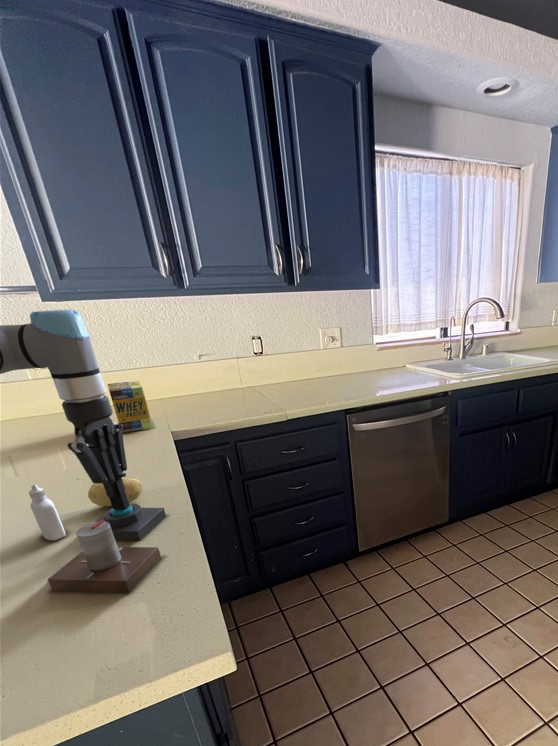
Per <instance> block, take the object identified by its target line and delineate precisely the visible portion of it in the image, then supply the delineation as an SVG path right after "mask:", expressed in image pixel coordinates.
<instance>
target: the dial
mask: <svg viewBox="0 0 558 746" xmlns="http://www.w3.org/2000/svg"><path fill="white" fill-rule="evenodd" d="M93 522H94V521H93ZM93 522H91V523H88V524H85V525H83V526H81V527H80V528H79V529H77V530H76V532H75V535H76V539H77V540H78V543H79V545H80V548H81V552H82V551H83V553H84V556H85V558H86V561H87V563H88V566H89V568H90V569H91V570H95V571H98V570H104V569H107V568H110V567H112V566H114V565H116V564H117V563H118V562H119V561H120V560H121V555H120V552H119V549H118V547H119V546H118V544H117V540H115V538H114V535H113V532H112V529H111V527H110V524H109V523H108V522H104V520H100V521H99V522H94V523H93Z"/></svg>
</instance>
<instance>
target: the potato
mask: <svg viewBox="0 0 558 746" xmlns="http://www.w3.org/2000/svg"><path fill="white" fill-rule="evenodd" d="M122 480H123V483H124V486H125V493H126V496H127V499H128V502H129V503H130V502H133V501H135V500H136V499H138V498H139V497H140V496H141V494H142V491H143V485H142V483H141V481H140V480H138V479H136V478H129V477H128V478H127V477H122ZM87 493H88V494H87V497H88V499H89V500H90V502H91V503H92V504H94V505H95V506H98V507H103V508H104V507H105V508H106V507H112V504H111V501H110V498H109V497H108V496H107V494H106V491H105V488H104V485H103V484H102V483H93V484H91V485H90V488H89V489H88V492H87Z"/></svg>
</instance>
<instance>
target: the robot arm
mask: <svg viewBox="0 0 558 746" xmlns="http://www.w3.org/2000/svg"><path fill="white" fill-rule="evenodd" d="M29 318H30V323H25V324H1V325H0V375H2V374H5V373H9V372H13V371H21V370H33V369H45V368H47V369H48V371H49V373H50V376H51V378H52V381H53V383H54V387H55V390H56V392H57V395H58V397H59V400H62V403H61V407H62V410H63V412H64V415H65V418H66V420H67V421H68V422H69V423H71V424H72V425H73V427H74V429H73V430H74V432H73V434H74V436H75V439H74V440H73V442H68V443H67V449H68V450H69V451H71V452H72V453H73V454H74V455H75V456H76V458H77V460H78V461H79V463H80V464H81V466H82V468H83V469H84V471H85V472H86V474H87V476H88V478H89V479H90V481H91V483H93V484H95V483H102V484H103V485H104V488H105V491H106V494H107V496H108V497H109V498H110V501H111V504H112V506H111V508H113V509H127V508H128V507H129V506H130V505H129V504H130V502H128V499H127V496H126V493H125V486H124V483H123V480H122V478H126V476H127V473H126V471H127V470H128V465H127V458H126V451H125V444H124V436H123V434H124V433H123V425H122V424H119V423H115V422H113V419H112V417H111V416H112V415H113V409H112V405H111V402H110V399H109V397H108V396H107V395H106V393H107V388H106V385H105V382H104V379H103V376H102V373H101V371H100V368H99V365H98V362H97V359H96V355H95V352H94V348H93V344H92V340H91V336H90V334H89V332H88V329H87V327H86V324H85V322H84V319H83V316H82V315H81V313H79V312H78V311H77V310H75V309H55V310H54V309H53V310H38V311H32V312H30V314H29Z"/></svg>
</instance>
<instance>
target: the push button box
mask: <svg viewBox="0 0 558 746" xmlns="http://www.w3.org/2000/svg"><path fill="white" fill-rule="evenodd" d="M129 505H131V506H132V508H133V511H132V512H131V513H129V514H127V515H124V516H119V517H112V514H111V510H112V509H113V507H111V508H110V509H108V510H106V511H105V512H104V513H103V514H102V515H101V516H100V517H98V518H96V520H94V521H92V523H94V522H99V521H100V520H104V522H108V523H109V524H110V527H111V529H112V532H113V535H114V538H115V541H141V540H142V539H144V538H145V537H146V536H147V535H148V534H149V533H150V532H151V531H152V530H153V529H154V528H156V527H157V525H159V523H161V522H162V521H163V520H164V519H165V518H166V517H167V515H166V511H165V510H166V509H165V508H164V507H142V506H141V505H140V504H138V503H129Z"/></svg>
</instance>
